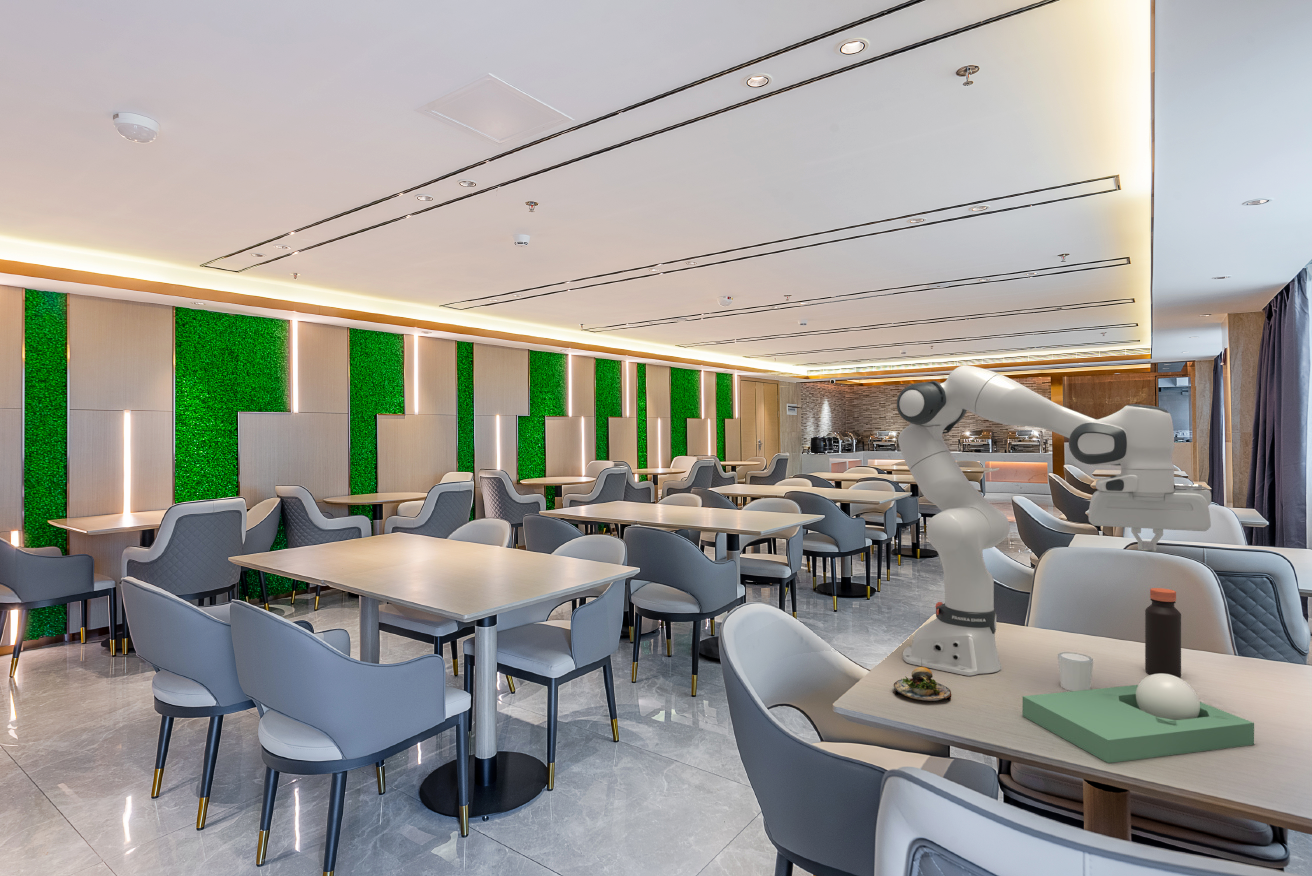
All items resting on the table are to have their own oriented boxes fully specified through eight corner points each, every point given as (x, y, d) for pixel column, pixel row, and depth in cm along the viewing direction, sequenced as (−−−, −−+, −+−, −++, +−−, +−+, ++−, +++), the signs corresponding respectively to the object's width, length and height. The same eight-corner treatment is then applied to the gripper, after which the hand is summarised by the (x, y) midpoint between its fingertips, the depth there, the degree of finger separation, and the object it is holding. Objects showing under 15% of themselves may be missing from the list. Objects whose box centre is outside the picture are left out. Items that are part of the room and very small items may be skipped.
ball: (1205, 689, 132) (1188, 738, 131) (1144, 665, 139) (1128, 712, 138) (1209, 687, 125) (1192, 739, 124) (1145, 662, 131) (1128, 711, 130)
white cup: (1081, 695, 146) (1081, 663, 146) (1050, 685, 153) (1050, 654, 152) (1100, 690, 150) (1100, 658, 150) (1069, 680, 156) (1068, 650, 156)
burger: (885, 697, 147) (884, 663, 147) (904, 682, 156) (904, 649, 156) (942, 711, 139) (942, 675, 139) (958, 694, 148) (958, 660, 148)
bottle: (1185, 675, 158) (1185, 590, 158) (1175, 682, 154) (1175, 595, 154) (1150, 667, 164) (1150, 585, 164) (1140, 673, 160) (1140, 589, 159)
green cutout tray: (1108, 763, 117) (1108, 740, 116) (1022, 715, 136) (1022, 696, 136) (1254, 744, 123) (1254, 722, 123) (1152, 702, 143) (1152, 683, 143)
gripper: (1207, 483, 136) (1207, 551, 136) (1087, 480, 146) (1087, 544, 146) (1215, 485, 130) (1215, 556, 131) (1090, 482, 140) (1090, 548, 140)
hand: (1146, 550), depth 138 cm, fingers closed
